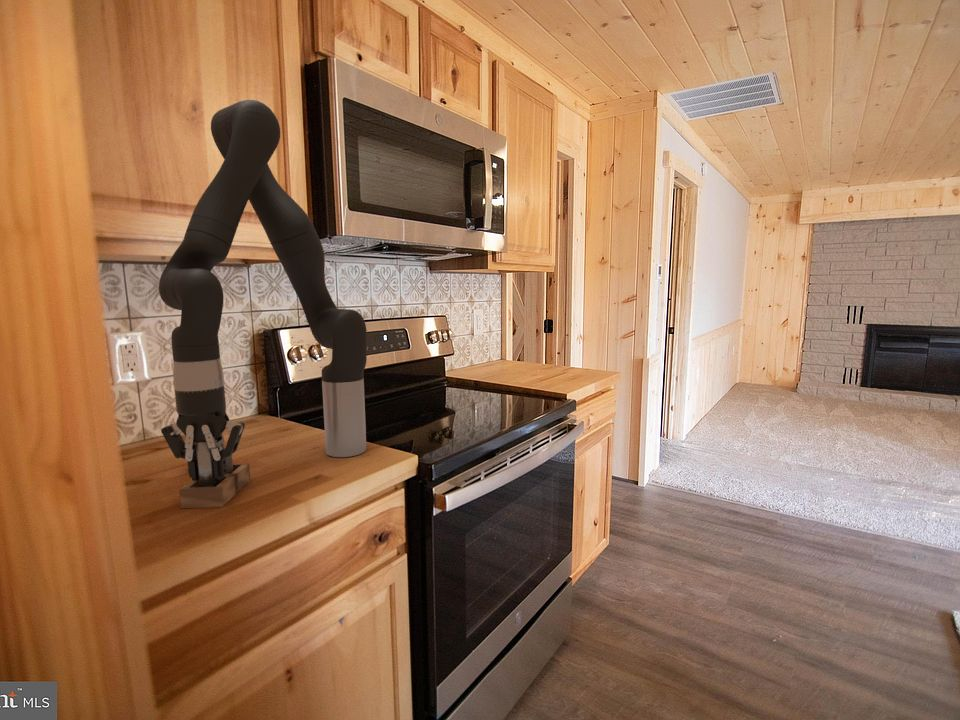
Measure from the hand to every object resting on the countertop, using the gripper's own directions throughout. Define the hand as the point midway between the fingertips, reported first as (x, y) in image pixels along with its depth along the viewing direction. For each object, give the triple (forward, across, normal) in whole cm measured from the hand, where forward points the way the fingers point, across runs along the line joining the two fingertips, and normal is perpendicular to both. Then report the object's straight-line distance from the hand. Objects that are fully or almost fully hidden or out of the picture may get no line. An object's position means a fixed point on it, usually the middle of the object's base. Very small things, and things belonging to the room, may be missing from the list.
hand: (208, 478), depth 86 cm
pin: (+3, 0, 0) cm, 3 cm away
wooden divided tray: (+4, 0, -3) cm, 5 cm away
